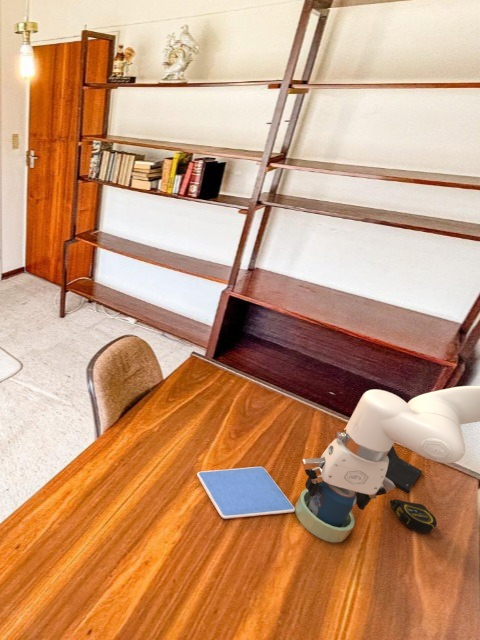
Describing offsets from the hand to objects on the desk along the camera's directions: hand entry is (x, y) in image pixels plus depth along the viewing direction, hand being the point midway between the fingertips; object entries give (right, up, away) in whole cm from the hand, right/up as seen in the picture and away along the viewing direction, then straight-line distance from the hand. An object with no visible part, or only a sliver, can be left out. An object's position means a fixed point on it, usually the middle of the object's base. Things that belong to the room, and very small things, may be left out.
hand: (333, 497), depth 90 cm
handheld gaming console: (+30, -2, +17) cm, 34 cm away
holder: (0, -8, +4) cm, 8 cm away
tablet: (-15, -4, +10) cm, 19 cm away
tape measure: (+22, -8, +5) cm, 24 cm away
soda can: (0, -7, +3) cm, 8 cm away
